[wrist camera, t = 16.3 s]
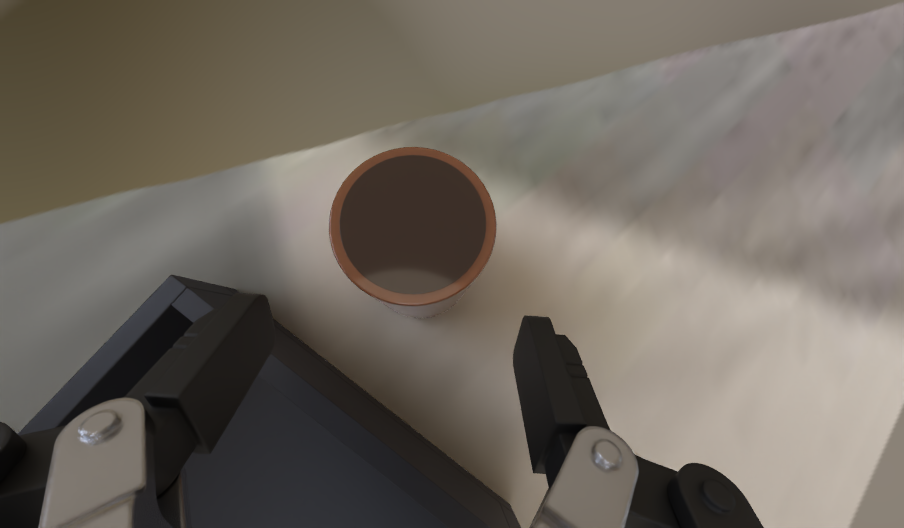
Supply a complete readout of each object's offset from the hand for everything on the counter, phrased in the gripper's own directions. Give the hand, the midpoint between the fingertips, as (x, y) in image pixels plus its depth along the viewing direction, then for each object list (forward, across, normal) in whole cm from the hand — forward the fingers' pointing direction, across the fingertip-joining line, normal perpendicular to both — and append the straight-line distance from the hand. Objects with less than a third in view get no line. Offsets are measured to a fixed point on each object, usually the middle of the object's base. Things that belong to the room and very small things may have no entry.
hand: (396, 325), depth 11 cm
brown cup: (+9, 0, +4) cm, 10 cm away
